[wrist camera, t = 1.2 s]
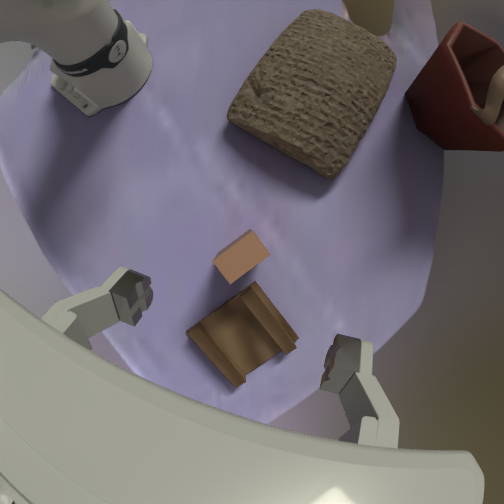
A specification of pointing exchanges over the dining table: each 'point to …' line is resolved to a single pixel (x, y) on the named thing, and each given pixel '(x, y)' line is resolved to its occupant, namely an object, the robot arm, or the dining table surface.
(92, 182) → the dining table surface
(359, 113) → the stone tablet
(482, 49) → the bucket
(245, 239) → the clay block
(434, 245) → the dining table surface
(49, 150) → the dining table surface
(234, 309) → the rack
